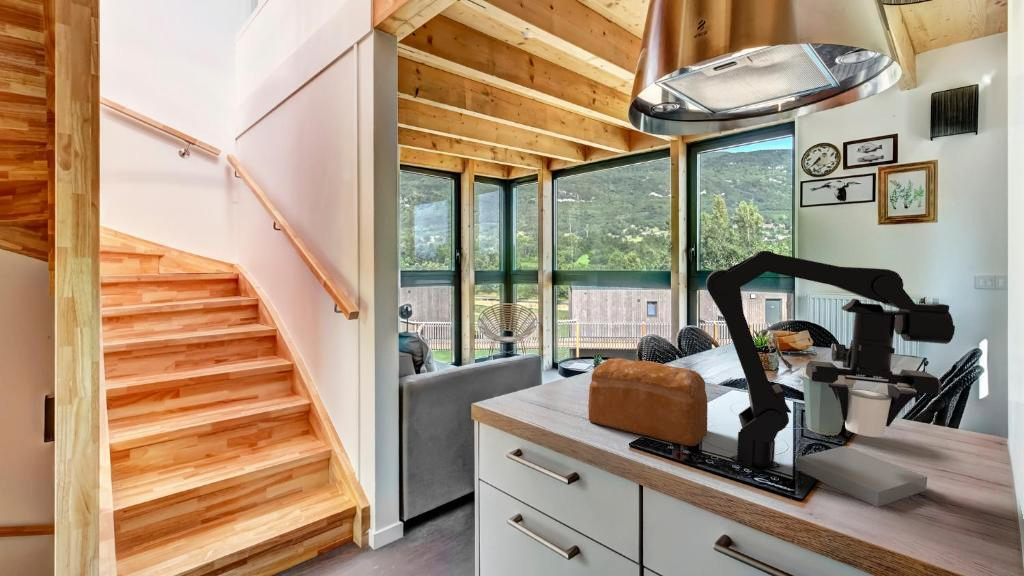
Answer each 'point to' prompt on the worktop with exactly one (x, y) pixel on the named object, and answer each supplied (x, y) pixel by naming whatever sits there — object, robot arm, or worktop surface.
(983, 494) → the worktop surface
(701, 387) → the bread
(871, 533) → the worktop surface
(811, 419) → the disposable coffee cup
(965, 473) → the worktop surface
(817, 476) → the slate board
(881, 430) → the white cup
